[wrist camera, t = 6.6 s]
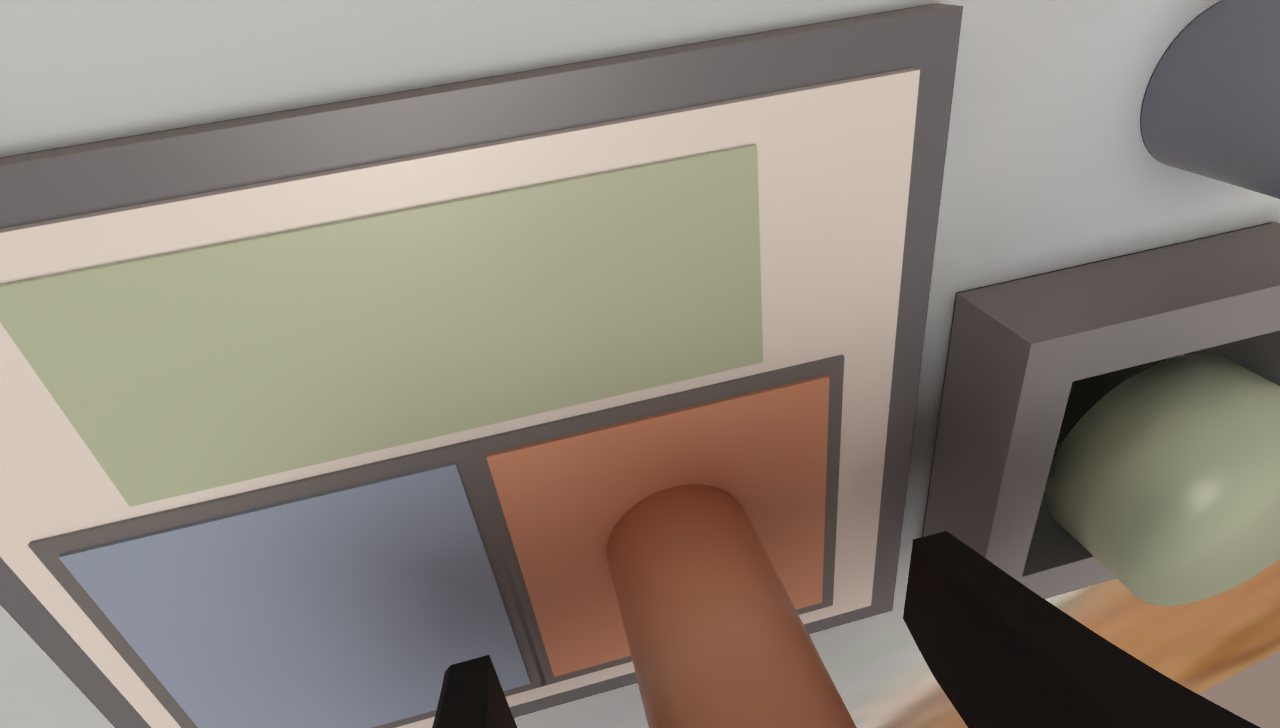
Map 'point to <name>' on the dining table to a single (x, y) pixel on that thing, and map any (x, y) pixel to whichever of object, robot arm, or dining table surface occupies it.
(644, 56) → the colour zone board
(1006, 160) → the dining table surface
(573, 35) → the dining table surface
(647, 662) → the terracotta marker
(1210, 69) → the slate blue marker
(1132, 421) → the button
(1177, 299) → the button collar
